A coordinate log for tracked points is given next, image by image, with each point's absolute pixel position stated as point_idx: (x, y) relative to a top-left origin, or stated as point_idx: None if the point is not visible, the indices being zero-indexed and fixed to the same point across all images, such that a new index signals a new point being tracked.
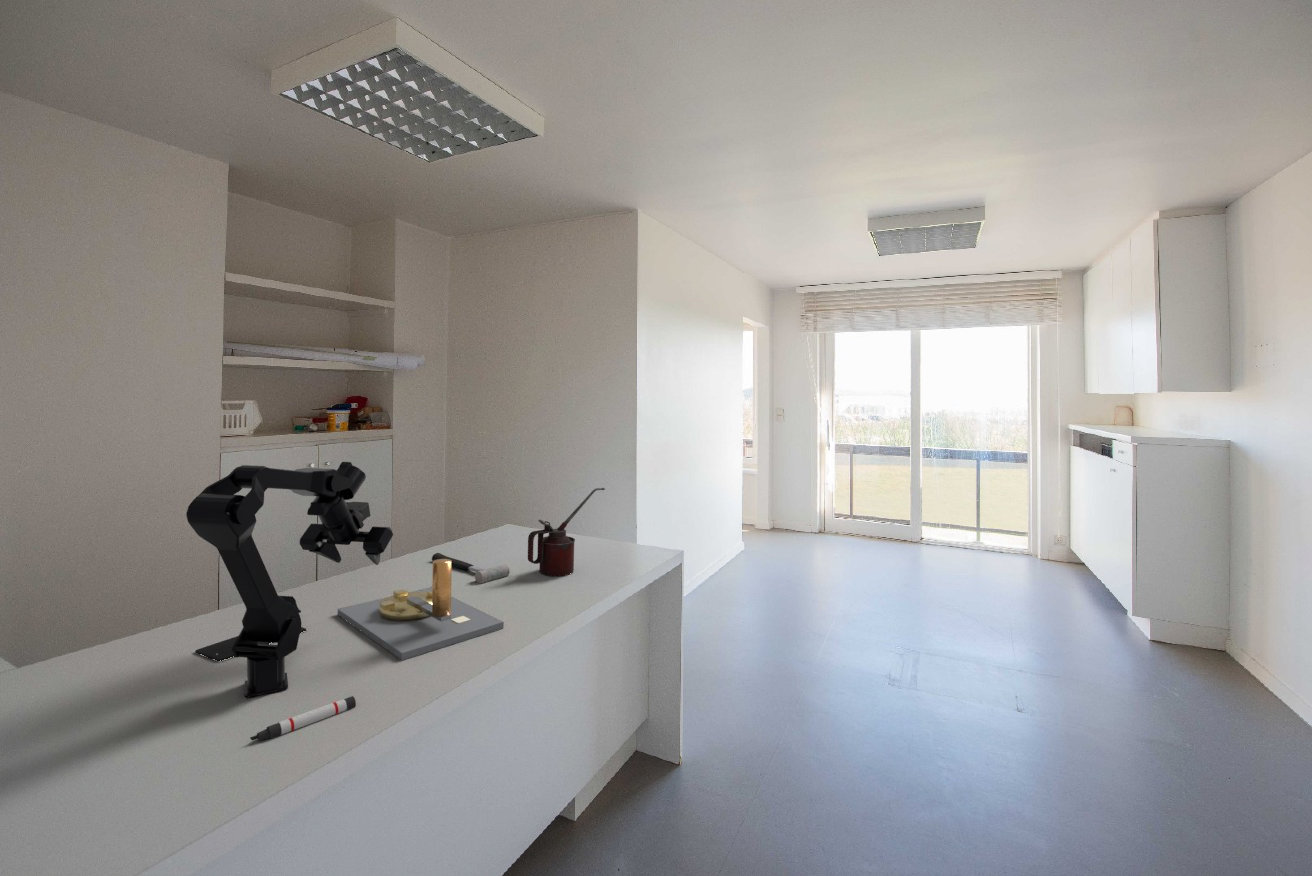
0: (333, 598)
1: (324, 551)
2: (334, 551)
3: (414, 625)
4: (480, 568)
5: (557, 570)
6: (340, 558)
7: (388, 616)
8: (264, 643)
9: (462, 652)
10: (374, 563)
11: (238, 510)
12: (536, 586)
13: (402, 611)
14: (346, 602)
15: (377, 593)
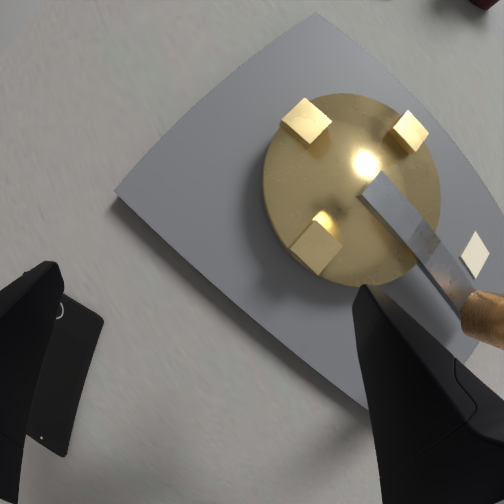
0: (66, 84)
1: (11, 468)
2: (5, 357)
3: (398, 303)
4: None
5: (487, 3)
6: (50, 277)
7: (324, 278)
8: (74, 403)
9: (477, 372)
10: (357, 341)
11: None
12: (482, 40)
13: (374, 281)
14: (106, 100)
15: (165, 31)
